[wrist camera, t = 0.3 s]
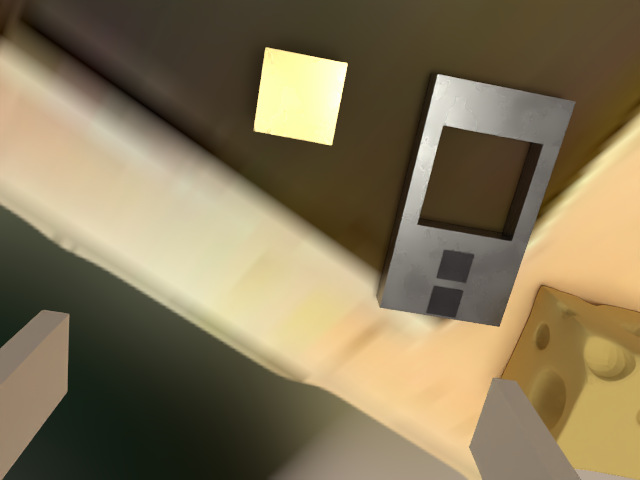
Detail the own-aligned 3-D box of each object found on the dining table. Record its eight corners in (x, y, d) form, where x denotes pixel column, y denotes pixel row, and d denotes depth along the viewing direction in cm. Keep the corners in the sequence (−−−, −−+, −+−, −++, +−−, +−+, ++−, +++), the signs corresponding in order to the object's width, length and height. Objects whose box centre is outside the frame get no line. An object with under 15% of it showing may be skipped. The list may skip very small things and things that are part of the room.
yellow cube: (272, 49, 36) (265, 47, 30) (341, 63, 36) (347, 63, 31) (262, 120, 37) (253, 130, 32) (328, 132, 38) (331, 145, 32)
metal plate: (431, 73, 36) (438, 74, 34) (562, 99, 37) (576, 101, 35) (376, 296, 42) (379, 308, 40) (491, 315, 43) (499, 327, 41)
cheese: (538, 281, 42) (604, 344, 33) (653, 311, 43) (749, 380, 34) (492, 384, 45) (539, 468, 36) (600, 409, 47) (674, 497, 37)
